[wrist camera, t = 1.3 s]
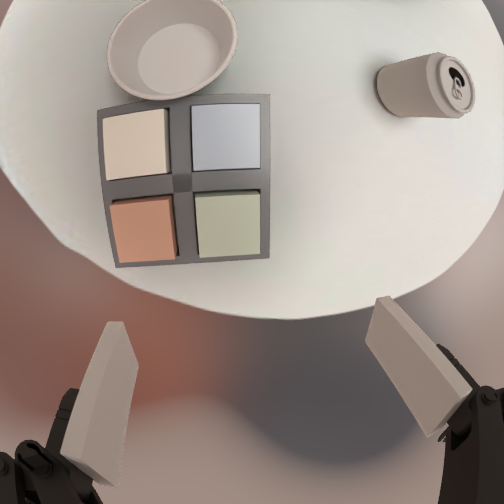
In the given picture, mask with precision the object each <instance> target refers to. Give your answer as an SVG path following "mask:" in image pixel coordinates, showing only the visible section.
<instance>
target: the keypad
mask: <svg viewBox="0 0 504 504" xmlns="http://www.w3.org/2000/svg"><path fill="white" fill-rule="evenodd" d="M215 104H260V168H236V169H214V170H197V171H194V169H193V144H192V106H197V105H215ZM156 109H165V110H167V111H168V123H169V152H170V171H169V172H167V173H162V174H152V175H143V176H135V177H127V178H120V179H113V180H106V171H105V159H104V142H103V119H104V118H109V117H114V116H119V115H124V114H130V113H136V112H142V111H149V110H156ZM97 128H98V150H99V164H100V175H101V184H102V193H103V200H104V208H105V214H106V221H107V226H108V232H109V238H110V243H111V248H112V253H113V258H114V262H115V267H116V268H122V267H140V266H156V265H173V264H189V263H205V262H220V261H235V260H250V259H265V258H269V247H270V94H212V95H195V96H183V97H179V98H175V99H169V100H149V101H142V102H136V103H130V104H125V105H119V106H114V107H110V108H105V109H100V110H97ZM236 190H257V191H258V193H259V194H260V254H250V255H235V256H219V257H204V258H200V254H199V243H198V231H197V218H196V204H195V196H196V193H200V192H216V191H236ZM162 195H172V198H173V210H174V220H175V230H176V239H177V247H178V251H177V254H176V258H175V259H172V260H156V261H140V262H124V263H120V262H119V257H118V252H117V247H116V242H115V237H114V231H113V225H112V219H111V212H110V205H111V204H113V203H114V202H116V201H117V200H123V199H132V198H141V197H151V196H162Z"/></svg>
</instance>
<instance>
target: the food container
mask: <svg viewBox="0 0 504 504" xmlns="http://www.w3.org/2000/svg"><path fill="white" fill-rule="evenodd" d="M237 41H238V31H237V25H236V22H235V19H234V17H233V15H232V14H231V12H230V11H229V10H228V9H227V7H226V6H225V5H223V4H222V3H221V2H220V1H218V0H145V1H144V2H142V3H140V4H139V5H137V6H136V7H134V8H133V9H132V10H130V11H129V12H128V13H127V14H126V15H125V16H124V17H123V18H122V19H121V21H120V22H119V23H118V25H117V26H116V28H115V29H114V31H113V33H112V35H111V38H110V40H109V44H108V48H107V64H108V68H109V71H110V74H111V75H112V77H113V79H114V80H115V82H116V83H117V84H118V85H119V86H120V87H121V88H122V89H123V90H125V91H126V92H128V93H130V94H132V95H134V96H137V97H140V98H143V99H149V100H169V99H175V98H179V97H183V96H186V95H189V94H191V93H194V92H196V91H198V90H200V89H202V88H203V87H205V86H207V85H208V84H209V83H211V82H212V81H213V80H215V79H216V78H217V77H218V76H219V75H220V74H221V73H222V72H223V71H224V69H225V68H226V67H227V66H228V64H229V63H230V61H231V59H232V57H233V55H234V53H235V50H236V46H237Z"/></svg>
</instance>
